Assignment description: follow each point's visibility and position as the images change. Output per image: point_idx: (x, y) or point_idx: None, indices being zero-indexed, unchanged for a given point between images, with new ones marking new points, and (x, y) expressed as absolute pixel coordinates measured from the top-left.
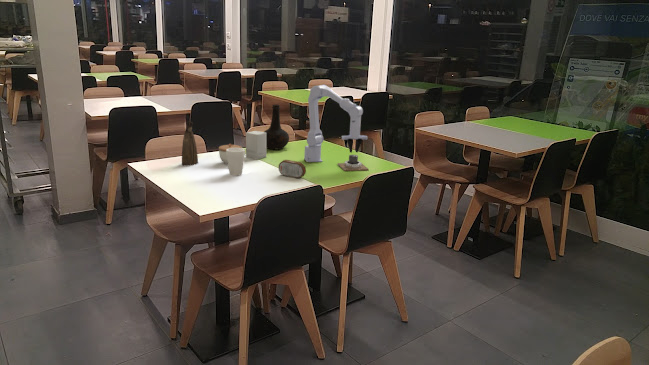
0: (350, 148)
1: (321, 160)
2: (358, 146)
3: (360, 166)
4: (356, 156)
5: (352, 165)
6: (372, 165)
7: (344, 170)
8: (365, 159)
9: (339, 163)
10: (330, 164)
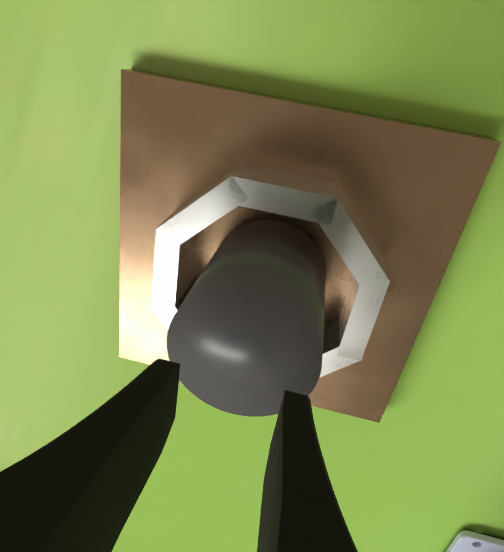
0: (326, 475)
1: (465, 546)
2: (84, 453)
3: (195, 198)
4: (212, 300)
5: (335, 192)
6: (18, 261)
7: (491, 149)
8: (32, 440)
9: (364, 409)
10: (447, 440)
